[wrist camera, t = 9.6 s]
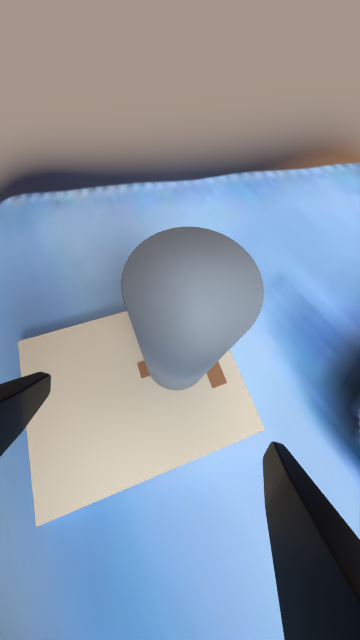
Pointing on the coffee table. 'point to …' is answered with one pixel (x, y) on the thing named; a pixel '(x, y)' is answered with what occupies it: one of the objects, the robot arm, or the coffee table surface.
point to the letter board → (120, 415)
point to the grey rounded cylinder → (189, 301)
